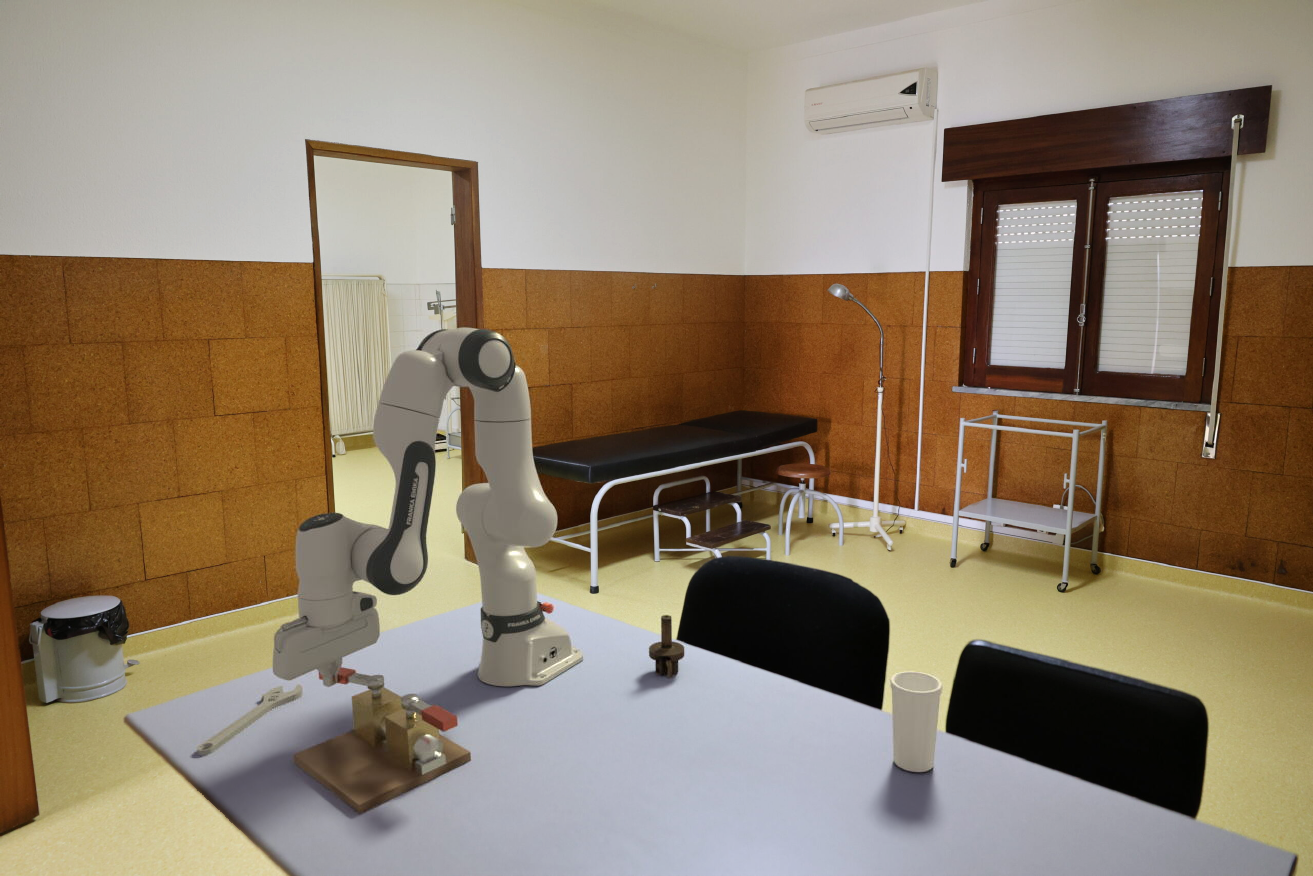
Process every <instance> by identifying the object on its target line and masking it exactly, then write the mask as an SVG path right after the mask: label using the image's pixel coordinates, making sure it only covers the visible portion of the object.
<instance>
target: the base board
mask: <svg viewBox="0 0 1313 876" xmlns="http://www.w3.org/2000/svg"><path fill="white" fill-rule="evenodd" d="M439 740H440V741H441V742H442V744H443V750H442V753H443V754H444V755H445V758H446V764H444V765H442V766H440V767H438V768H436V769H434V770H431V771H429V772H427V773H425V774H423V775H422V774H420V773H419V772H417V771H416V770H415V769H413V770H411V771H410V770H408V769H407V768H405V767H404V766H402V765H401V764H399V763H398V762H396V761H395V760H393V759H392V758H390V757H389V756H388V755H387V751H385V750H384V749H383V744H382V745H380V746H378V747H374V746H372V745H371V744H369V743H368V742H366V741H365V740H363V739H362V738H360V737H358V736H357V735H355V733H354V729H352V730H349V731H348V732H344V733H342V734H340V735H337V736H335V737H332V738H330V739H328V740H324V741H322V742H320V743H318V744H315V745H313V746H311V747H308V748H306V749H303V750H301V751H299V752H295V753H293V754H292V755H293V756H292V757H293V763H294V764H295V765H297V766H298V767H299V768H301V770H303V771H304V772H306V773H307V774H308V775H309V776H310V777H312V779H315V780H316V781H317V782H319V783H320V784H321V785H322V786H324V787H325V788H326V789H327V790H329V791H330V792H331V793H333V795H335V796H336V797H337V798H339V799H340V800H341V801H343V802H344V803H345V804H346V805H348V807H351V808H352V809H353V810H354V811H355V812H356V813H357V814H363V813H366V812H367V811H369V810H371V809H373V808H376V807H378V806H379V805H382V804H385V802H388V801H390V800H391V799H394V798H395V797H399V796H400V795H402V794H405V793H406V792H408V791H411V790H412V789H414V788H416V787H419V786H421V785H423V784H425V783H426V782H430V781H431V780H433V779H436V778H437V777H439V776H442V775H443V774H445V773H447V772H449V771H451V770H454V769H455V768H457V767H460V766H462V765H465V764H466V763H468V762H470V761H472V758H471V751H470V750H469V749H466V748H464V747H463V746H461V745H459V744H458V743H456V742H454V741H453V740H451V739H449V738H447V737H445V736H444V735H442V734H441V733H439Z"/></svg>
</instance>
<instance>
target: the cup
mask: <svg viewBox="0 0 1313 876" xmlns="http://www.w3.org/2000/svg"><path fill="white" fill-rule="evenodd" d="M889 682H890V688H891V705H892V709H891V710H892V745H893V747H892V749H893V750H892V751H893V752H892V753H893V761H894V764H895V765H896V766H897V767H899V768H901V769H903V770H904V771H908V772H915V773H924V772H928V771H930V770H931V769H932V768H933V767H934V764H935V755H936V745H937V744H936V743H937V735H938V733H937V731H938V725H939V724H938V721H939V711H940V710H939V709H940V701H941V695H942V693H943V688H944V687H943V684H942V681H941V680H939V678H937V677H936V676H934V675H932V674H929V673H926V672H920V671H910V670H909V671H908V670H907V671H900V672H897V673H895V674H892V676H891V678H890V679H889Z"/></svg>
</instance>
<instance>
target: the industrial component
mask: <svg viewBox="0 0 1313 876" xmlns="http://www.w3.org/2000/svg"><path fill="white" fill-rule="evenodd" d="M672 619H673V618H672V615H669V614H664V615H661V616H660V625H661V626H660V627H661V628H660V629H661V630H660V632H661V633H660V637H661V638H660V639H661V640H660V641H658V642H654V643H652V644H650V646H648V657H649V659H651V660H653V661H655V663H654V664H655V665H654V666H655V674H656V675H657V676H660V677H663V676H667V679H670V678H673V676H677V675H678V674H679V661H681V660H682V659H683V658H684V657H685V646H684V645H683V644H682V643H679V642H676V641H673V638H672V637H673V635H672V634H673V633H672V632H673V630H672V629H673V628H672V621H673V620H672Z"/></svg>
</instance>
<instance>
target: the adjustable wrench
mask: <svg viewBox="0 0 1313 876" xmlns="http://www.w3.org/2000/svg"><path fill="white" fill-rule="evenodd" d="M282 692H283V693H282ZM303 694H304V692H303V686H302V685H301V684H296V686H295V688H294V689H292V690H289V691H285V692H284V689H283V685H280V686H276V687H274V688H272V689H270V690H268V691H266V692H265V693H262V695H261V698H260V702H261V703H260V704H258V705H257V706H256V707H254V708H253V709H251V710H249V711H248V712H247V713H245V714H244V715H242V716H240V717H239V718H238V719H237V720H234V721H233V722H232V723H230V724H229V725H227V726H225V728H223V729H221V730H219V731H218V732H216V733H215V734H214V735H212V736H211V737H210V738H208V739H207V740H206V741H204V742H202V743H201V744H199V745H198V746H197V748H196V750H197V755H198V756H200V755H205V756H208V754H209V755H211V754H213V753H214V752H216V751H217V750H218V749H220V748H221V747H222V746H224V745H225V744H226V742H227V743H228V742H229V741H230V740H232V739H234V738H235V737H236V736H238V735H239V734H241V733H242V732H243V731H245V730H246V729H247V728H249V727H250V726H251V724H252V723H253V722H254V723H256V722H257V721H259V720H260V719H262V716H263V715H264V714H265V715H267V714H268V713H270V712H271V711H273V710H275V709H277V708H279V707H281V705H282V706H284V705H286V703H287V704H289V702H290V703H292V702H295V701H296V699H297V700H298V698H299V699H300V698H301V697H303ZM294 700H295V701H294ZM291 701H292V702H291ZM278 706H279V707H278ZM276 707H277V708H276ZM274 708H275V709H274ZM272 709H273V710H272ZM269 711H270V712H269ZM267 712H268V713H267ZM266 713H267V714H266ZM265 715H264V716H265ZM264 716H263V717H264ZM259 718H260V719H259ZM258 719H259V720H258ZM256 720H257V721H256ZM255 721H256V722H255ZM254 723H253V724H254ZM253 724H252V725H253ZM249 725H250V726H249ZM248 726H249V727H248ZM245 728H246V729H245ZM244 729H245V730H244ZM241 731H242V732H241ZM240 732H241V733H240ZM238 733H239V734H238ZM237 734H238V735H237ZM235 735H236V736H235ZM234 736H235V737H234ZM215 750H216V751H215Z"/></svg>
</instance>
